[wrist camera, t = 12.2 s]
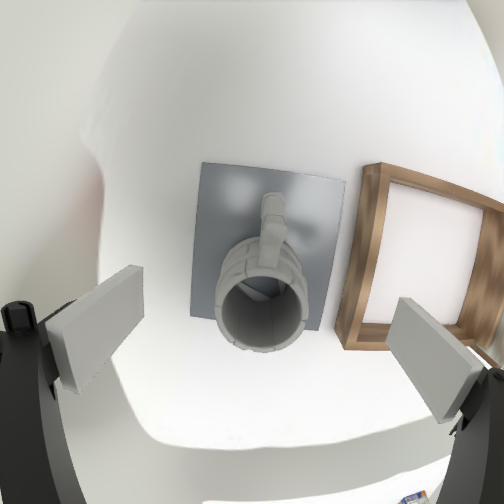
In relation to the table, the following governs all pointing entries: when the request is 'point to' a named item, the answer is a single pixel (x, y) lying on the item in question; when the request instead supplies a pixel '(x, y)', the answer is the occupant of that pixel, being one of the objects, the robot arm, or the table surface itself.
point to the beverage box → (416, 499)
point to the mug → (260, 306)
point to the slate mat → (249, 225)
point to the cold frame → (481, 284)
